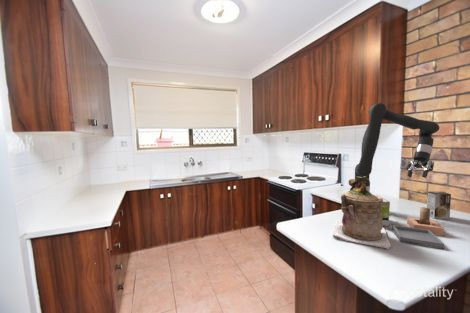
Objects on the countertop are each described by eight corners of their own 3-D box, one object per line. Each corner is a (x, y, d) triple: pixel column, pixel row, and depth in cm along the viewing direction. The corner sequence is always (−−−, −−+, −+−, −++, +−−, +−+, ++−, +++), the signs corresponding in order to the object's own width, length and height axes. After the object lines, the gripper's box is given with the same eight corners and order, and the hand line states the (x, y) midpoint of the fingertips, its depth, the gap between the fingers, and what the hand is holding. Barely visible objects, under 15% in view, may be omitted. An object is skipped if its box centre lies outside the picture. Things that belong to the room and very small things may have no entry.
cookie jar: (385, 230, 113) (387, 173, 111) (391, 251, 92) (395, 181, 90) (335, 222, 126) (337, 170, 123) (331, 238, 105) (333, 176, 102)
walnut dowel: (420, 230, 113) (421, 209, 112) (417, 227, 117) (419, 206, 116) (430, 231, 112) (431, 210, 111) (427, 228, 115) (428, 207, 114)
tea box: (389, 226, 119) (390, 201, 117) (370, 225, 121) (371, 200, 119) (377, 217, 133) (378, 194, 132) (360, 216, 135) (360, 194, 134)
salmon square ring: (413, 231, 112) (414, 224, 111) (406, 223, 122) (407, 217, 122) (443, 235, 106) (444, 228, 106) (433, 227, 117) (433, 220, 117)
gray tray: (400, 242, 101) (400, 237, 100) (391, 229, 115) (392, 224, 115) (443, 249, 94) (444, 243, 93) (429, 234, 108) (429, 230, 108)
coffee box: (440, 215, 135) (442, 191, 134) (450, 219, 128) (451, 193, 127) (425, 215, 136) (427, 191, 135) (434, 218, 129) (435, 193, 128)
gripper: (406, 151, 136) (400, 174, 134) (430, 149, 122) (424, 175, 120) (415, 155, 137) (409, 178, 135) (440, 154, 123) (434, 179, 121)
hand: (416, 177), depth 127 cm, fingers open, 8 cm apart
